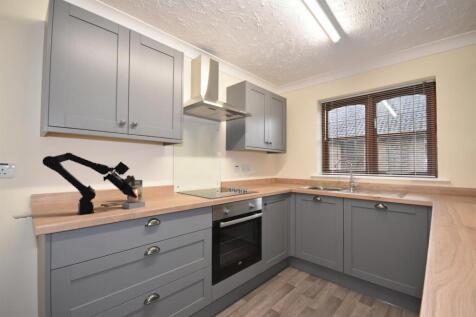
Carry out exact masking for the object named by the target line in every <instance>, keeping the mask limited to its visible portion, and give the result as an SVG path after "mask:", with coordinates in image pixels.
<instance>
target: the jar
mask: <svg viewBox="0 0 476 317" xmlns="http://www.w3.org/2000/svg"><path fill="white" fill-rule="evenodd" d="M132 187H133V192H134V193H135V194H136V196H137V198H134V197H131V196H129V201H128V202H129V203H130V204H131V203H138V188H139V186H132Z"/></svg>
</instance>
